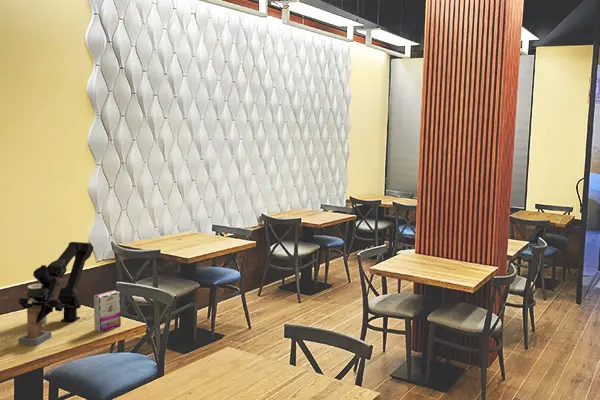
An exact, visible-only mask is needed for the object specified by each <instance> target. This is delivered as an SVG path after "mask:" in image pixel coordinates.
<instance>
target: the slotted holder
mask: <svg viewBox="0 0 600 400" xmlns="http://www.w3.org/2000/svg"><path fill="white" fill-rule="evenodd" d="M51 338H52V331H47V330H42V335H41V336H39V337H38V338H36V339H33V338H28V332H27V333H26V334H24V335H21V336H20V337H18V340H17V342H18V345H22V346H23V345H24V346H32V347H38V346H40V345H41V344H43V343H45V342H46V341H47V340H49V339H51Z"/></svg>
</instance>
